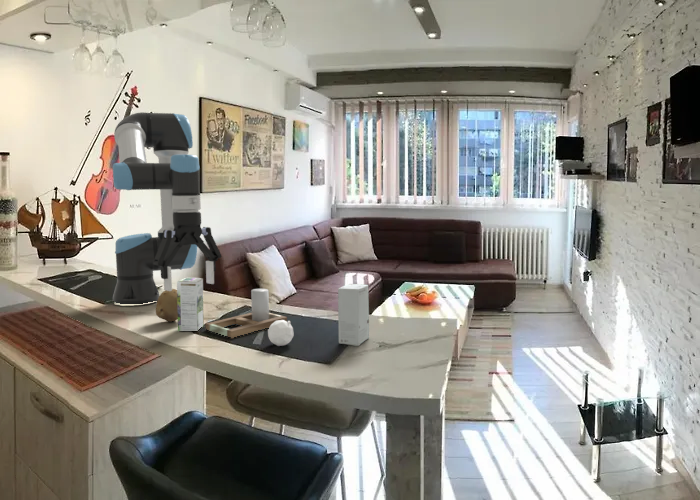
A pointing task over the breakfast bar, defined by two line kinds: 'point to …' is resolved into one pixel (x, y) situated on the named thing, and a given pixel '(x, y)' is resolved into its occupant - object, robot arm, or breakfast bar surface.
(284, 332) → the ornament
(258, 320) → the grey canister
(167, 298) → the brown potato
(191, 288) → the syrup box
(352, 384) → the breakfast bar surface
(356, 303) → the skincare box
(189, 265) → the robot arm
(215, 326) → the socket board
